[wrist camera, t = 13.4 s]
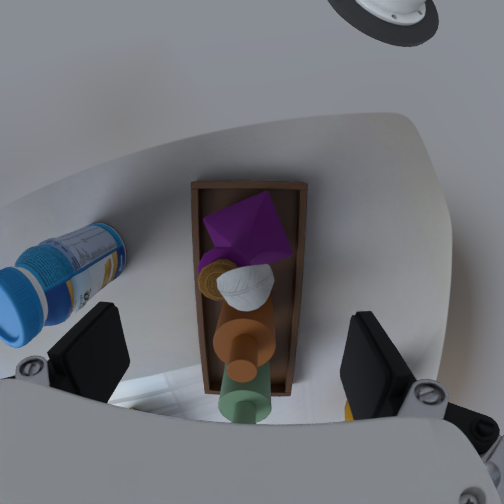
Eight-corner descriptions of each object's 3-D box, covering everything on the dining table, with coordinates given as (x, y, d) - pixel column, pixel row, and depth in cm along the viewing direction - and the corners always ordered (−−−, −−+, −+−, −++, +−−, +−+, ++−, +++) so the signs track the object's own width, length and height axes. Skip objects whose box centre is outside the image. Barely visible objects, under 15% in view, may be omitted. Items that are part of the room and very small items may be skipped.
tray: (195, 181, 32) (190, 181, 30) (304, 182, 32) (307, 182, 30) (207, 383, 40) (204, 393, 38) (289, 385, 40) (290, 396, 38)
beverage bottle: (118, 213, 34) (4, 257, 14) (136, 274, 36) (47, 359, 17) (72, 229, 34) (-35, 275, 15) (90, 284, 37) (0, 357, 17)
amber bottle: (224, 278, 35) (203, 340, 22) (273, 279, 35) (280, 343, 21) (225, 321, 37) (208, 394, 23) (271, 322, 37) (275, 396, 23)
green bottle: (226, 340, 37) (211, 414, 24) (270, 341, 37) (273, 417, 24) (227, 373, 39) (215, 447, 26) (268, 374, 39) (270, 449, 25)
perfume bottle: (233, 270, 35) (208, 360, 17) (207, 213, 33) (151, 258, 16) (290, 247, 34) (320, 324, 16) (267, 188, 32) (275, 206, 15)
